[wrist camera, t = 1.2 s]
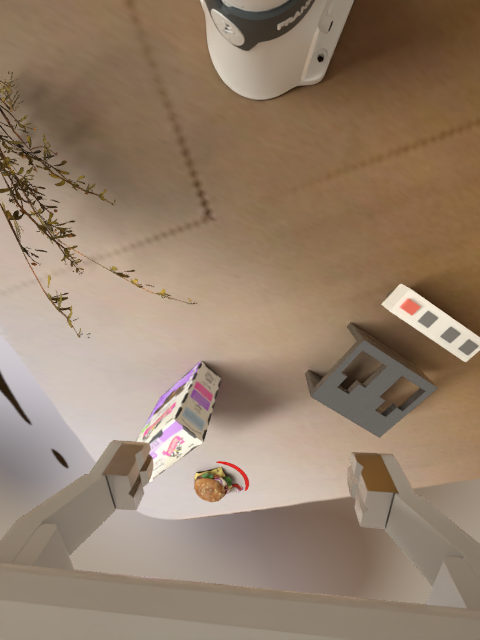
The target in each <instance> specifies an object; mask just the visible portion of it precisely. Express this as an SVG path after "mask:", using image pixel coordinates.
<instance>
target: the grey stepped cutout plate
mask: <svg viewBox="0 0 480 640" xmlns="http://www.w3.org/2000/svg"><path fill="white" fill-rule="evenodd" d="M347 328H348V329H349V330H350V332H351V333H352V335H353V336H354V338H355V339H356V340H357V342H356V343H355V344H354V345H353V346H352V347H351V348H350V349H349V351H348V352H347V353H346V354H345V355H344V356H343V357H342V358H341V359H340V360H339V361H338V362H337V363H336V365H335V366H334V367H333V368H332V369H331V370H330V371H329V372H328V373H327V374H326V375H325V376H324V377H323V378H321V377H319V376H317V375H316V374H314V373H312V372H311V371H309V370H308V371H307V372H306V373H305V375H306V379H307V383H308V387H309V391H310V396H311V397H312V398H314V399H316V400H317V401H319V402H321V403H322V404H324V405H326V406H327V407H329V408H331V409H332V410H334V411H336V412H337V413H339V414H341V415H342V416H344V417H346V418H347V419H349V420H351V421H352V422H354V423H356V424H357V425H359V426H361V427H362V428H364V429H366V430H367V431H369V432H371V433H372V434H374V435H376V436H377V437H379V438H380V437H381V436H382V435H383V434H384V433H386V432H387V431H388V430H389V429H390V428H392V427H393V426H394V425H395V424H396V423H397V422H399V421H400V420H401V419H402V418H403V417H404V416H406V415H407V414H408V413H409V412H410V411H412V410H413V409H414V408H415V407H416V406H417V405H419V404H420V403H421V402H422V401H423V400H425V399H426V398H427V397H428V396H429V395H430V394H432V393H433V392H434V391H435V390H436V389H437V387H436V386H435V384H434V383H433V382H432V381H431V380H430V379H429V378H428V377H427V376H426V375H425V374H424V373H423V372H422V371H421V370H420V369H419V368H418V367H417V366H416V365H415V364H413V363H412V362H410V361H409V360H407V359H406V358H404V357H403V356H401V355H400V354H398V353H397V352H395V351H393V350H392V349H390V348H389V347H387V346H386V345H384V344H383V343H381V342H380V341H378V340H377V339H375V338H374V337H372V336H371V335H369V334H368V333H366V332H365V331H363V330H361V329H360V328H358V327H357V326H355V325H354V324H352V323H350V324H349V325H348V326H347ZM362 350H363V351H364V352H366V353H367V354H369V355H370V356H372V357H373V358H375V359H376V360H378V361H380V362H381V363H383V364H382V365H381V366H380V367H379V368H378V369H377V370H376V371H375V372H374V373H373V374H372V375H371V376H370V377H369V378H368V379H367V380H366V381H365V382H364V383H363V384H362V383H361V382H359V381H358V380H356V381H355V382H354V383H353V384H352V385H351V386H350V387H349V388H348V389H347V390H346V389H344V388H343V387H341V386H339V385H340V384H341V383H342V382H343V381H344V380H345V379H346V378H347V375H346V373H345V372H343V370H344V369H345V368H346V367H347V366H348V365H349V364H350V363H351V362H352V361H353V360H354V359H355V358H356V357H357V356H358V355H359V353H360V352H361V351H362ZM401 376H403V377H404V378H406V379H408V380H409V381H411V382H412V383H414V384H415V385H417V386H418V387H420V389H419V390H418V391H417V392H415V393H414V394H413V395H412V396H411V397H410V398H409V399H407V400H406V401H405V402H404V403H403V404H402V405H401V406H398V405H396V404H394V403H393V404H392V405H391V406H389V407H388V408H387V409H386V410H385V411H384V412H382V411H380V410H378V409H377V408H378V407H379V406H380V405H381V404H382V403H384V402H385V399H384V397H383V396H382V394H383V393H384V392H385V391H386V390H387V389H389V388H390V387H391V386H392V385H393V384H394V383H395V382H396V381H397V380H398V379H399V378H400V377H401Z"/></svg>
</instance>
